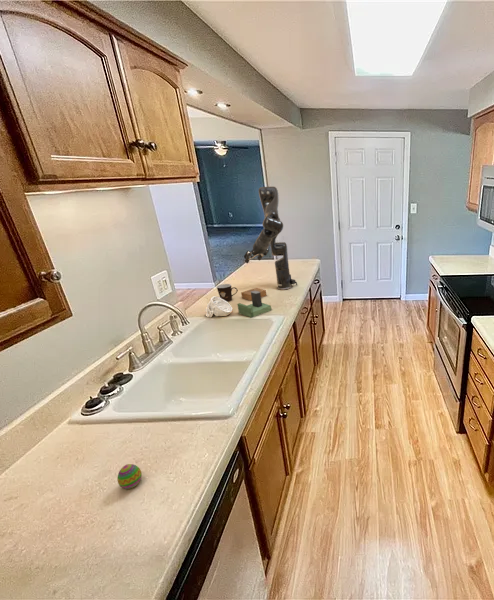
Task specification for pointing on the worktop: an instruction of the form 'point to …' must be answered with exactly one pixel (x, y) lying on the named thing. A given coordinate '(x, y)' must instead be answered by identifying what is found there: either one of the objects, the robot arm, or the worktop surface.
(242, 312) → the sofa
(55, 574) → the worktop surface
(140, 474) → the egg
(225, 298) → the coffee mug
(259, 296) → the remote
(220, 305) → the skull bowl
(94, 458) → the worktop surface
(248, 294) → the brown wooden block
